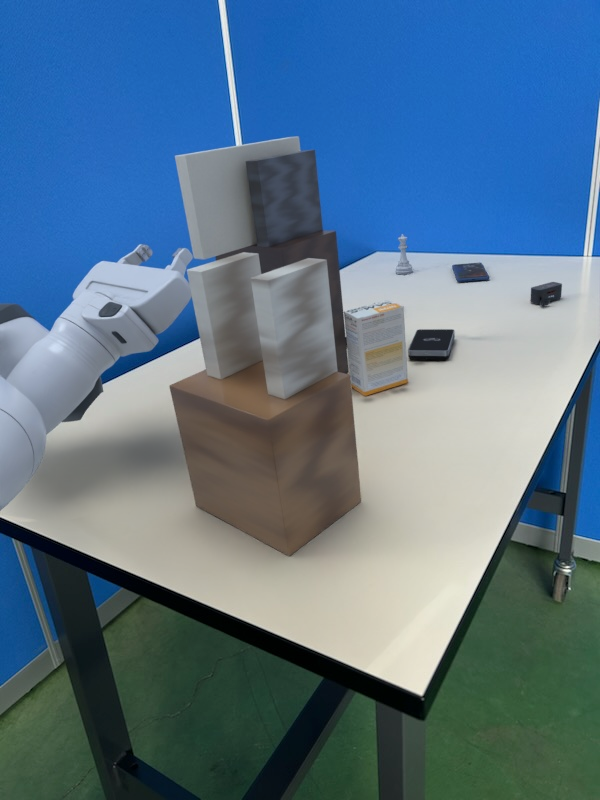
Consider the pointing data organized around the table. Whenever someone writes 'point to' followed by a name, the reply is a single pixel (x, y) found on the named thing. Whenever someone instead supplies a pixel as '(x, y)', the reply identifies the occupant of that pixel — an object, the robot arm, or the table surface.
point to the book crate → (268, 402)
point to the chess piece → (403, 259)
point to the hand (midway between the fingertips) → (166, 249)
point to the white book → (223, 195)
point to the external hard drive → (431, 344)
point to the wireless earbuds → (546, 293)
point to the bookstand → (294, 226)
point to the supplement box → (376, 346)
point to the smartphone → (470, 272)
